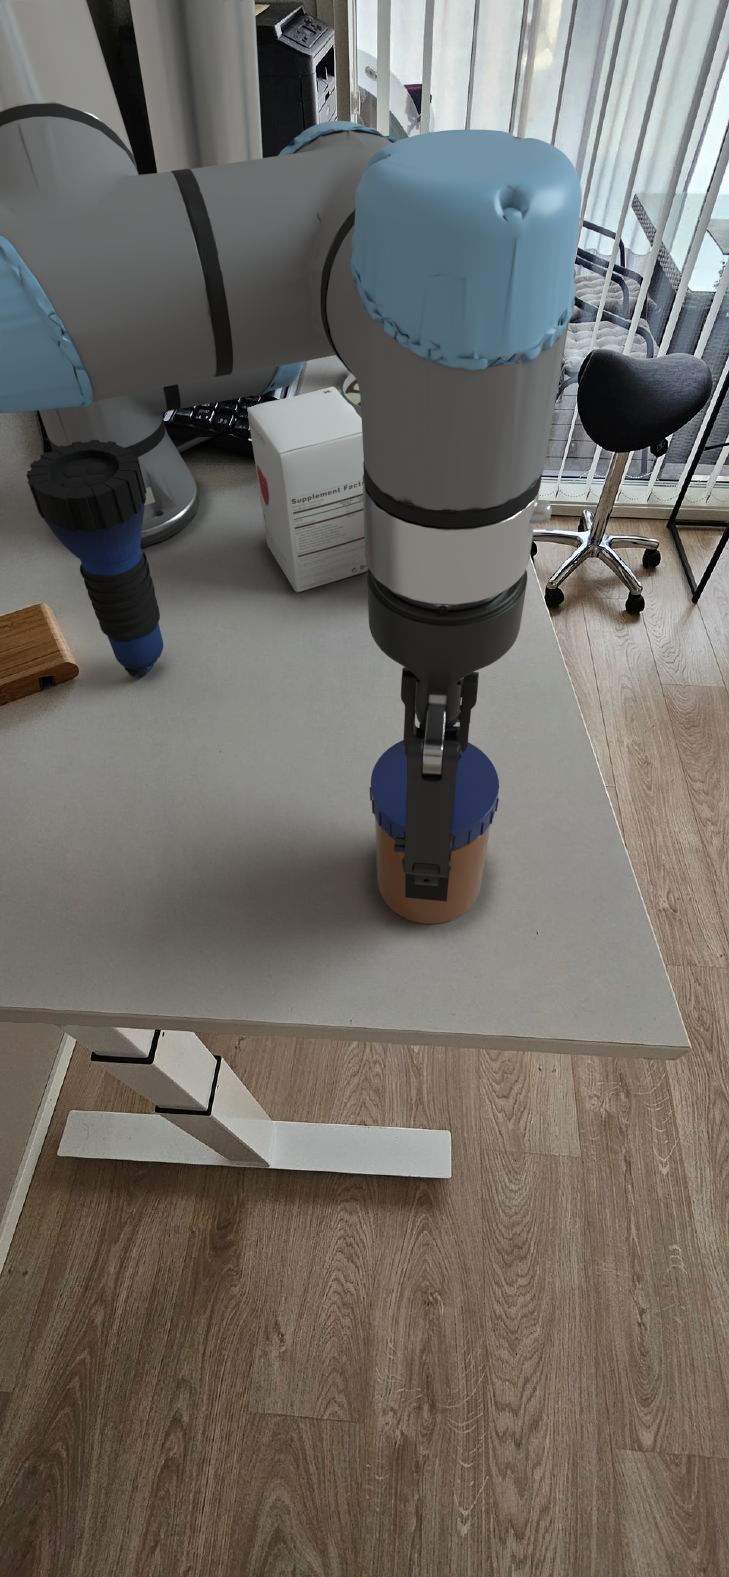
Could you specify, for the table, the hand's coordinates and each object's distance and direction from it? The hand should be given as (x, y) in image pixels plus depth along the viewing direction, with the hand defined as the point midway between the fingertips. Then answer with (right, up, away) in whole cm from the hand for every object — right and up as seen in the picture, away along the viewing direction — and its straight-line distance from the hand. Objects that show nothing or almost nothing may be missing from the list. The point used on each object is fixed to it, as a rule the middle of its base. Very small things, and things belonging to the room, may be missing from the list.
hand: (431, 839), depth 56 cm
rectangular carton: (-9, +27, +28) cm, 40 cm away
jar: (0, -3, +4) cm, 5 cm away
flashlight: (-24, +14, +19) cm, 34 cm away
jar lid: (0, +4, -5) cm, 6 cm away
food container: (-4, +40, +38) cm, 55 cm away
